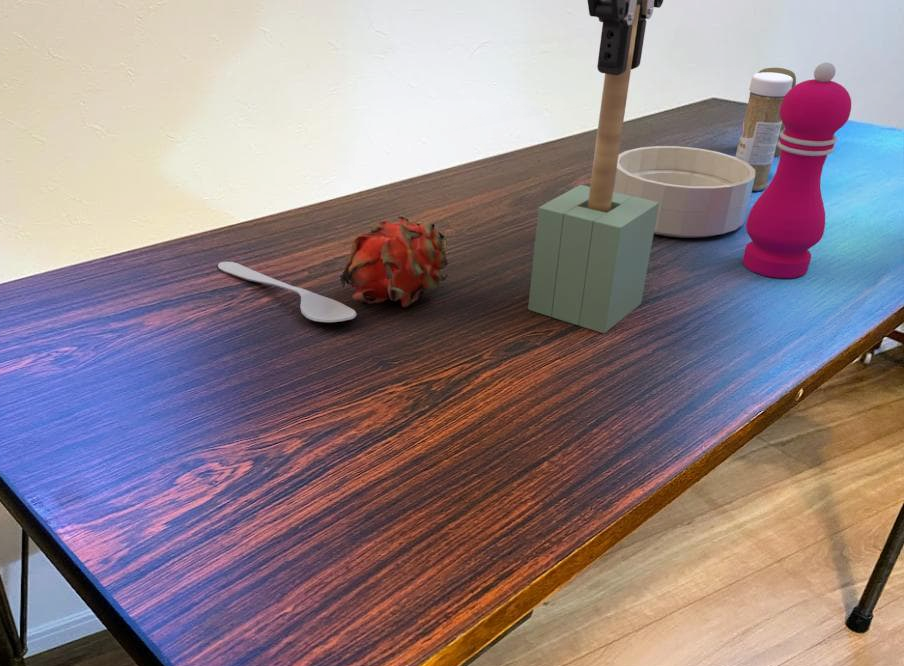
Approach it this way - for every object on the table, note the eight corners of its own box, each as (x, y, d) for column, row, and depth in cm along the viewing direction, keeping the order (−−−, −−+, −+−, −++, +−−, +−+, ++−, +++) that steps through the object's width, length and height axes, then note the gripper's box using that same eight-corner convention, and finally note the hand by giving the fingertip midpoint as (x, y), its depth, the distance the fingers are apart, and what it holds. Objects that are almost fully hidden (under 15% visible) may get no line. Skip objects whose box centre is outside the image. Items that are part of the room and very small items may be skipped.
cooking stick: (609, 242, 82) (644, 3, 71) (599, 249, 81) (633, 7, 70) (589, 237, 83) (620, 1, 72) (579, 244, 82) (609, 4, 71)
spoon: (334, 339, 80) (334, 323, 79) (204, 269, 93) (202, 254, 92) (369, 325, 82) (369, 309, 81) (237, 258, 95) (236, 243, 94)
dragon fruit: (454, 300, 90) (353, 346, 86) (410, 232, 92) (309, 274, 88) (483, 255, 82) (372, 303, 78) (434, 182, 84) (324, 225, 80)
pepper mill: (807, 286, 89) (868, 74, 78) (731, 272, 92) (779, 66, 81) (816, 260, 94) (873, 59, 83) (743, 248, 97) (790, 51, 86)
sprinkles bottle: (725, 179, 116) (749, 70, 109) (762, 181, 116) (788, 71, 109) (732, 191, 112) (757, 79, 105) (770, 193, 112) (798, 80, 105)
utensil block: (641, 304, 86) (659, 202, 80) (604, 334, 81) (621, 227, 75) (567, 282, 90) (580, 184, 84) (527, 309, 85) (538, 207, 79)
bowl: (762, 212, 106) (774, 162, 103) (713, 252, 96) (725, 197, 93) (640, 186, 114) (648, 138, 111) (584, 220, 104) (590, 169, 101)
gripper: (663, -185, 58) (623, 93, 67) (740, -184, 67) (695, 62, 76) (559, -183, 62) (535, 79, 71) (644, -182, 71) (613, 51, 80)
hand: (618, 69), depth 74 cm, fingers closed on cooking stick, 2 cm apart
